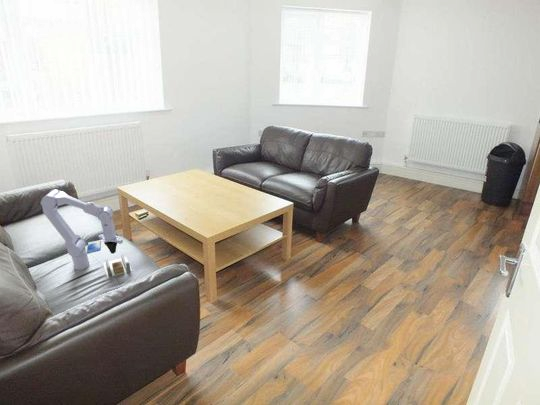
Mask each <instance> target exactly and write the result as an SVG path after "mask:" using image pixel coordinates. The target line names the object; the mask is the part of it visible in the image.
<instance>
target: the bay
mask: <svg viewBox="0 0 540 405" xmlns="http://www.w3.org/2000/svg"><path fill="white" fill-rule="evenodd" d="M119 261H121V262H122V265H123V268H124V272H123V273H119V274H116V275H115V273H114V270H113V266H112V263H115V262H119ZM102 264H103V267H104V268H103V269H104V271H105V274H106V277H107V279H108V278H111V277H114V276H119V275H122V274H125V273H128V272H132V271H133V270H132V268H131V264H130V262H129V260H128V258H127V256H124V255H120V258H116V259H113V260H108V258H107V259H105V261H104V262H103V263H102Z"/></svg>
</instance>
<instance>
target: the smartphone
mask: <svg viewBox="0 0 540 405" xmlns="http://www.w3.org/2000/svg"><path fill="white" fill-rule="evenodd" d="M101 243H102V239H97V240H92V241H88V242H87V249H86V252H87V255H89V254H93V253H98V252H100V251H102V250H101V249H102V244H101Z"/></svg>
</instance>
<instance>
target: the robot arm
mask: <svg viewBox="0 0 540 405" xmlns="http://www.w3.org/2000/svg"><path fill="white" fill-rule="evenodd" d="M39 204H40V205H41V206H42V207H41V208H42V213H43V214H44V215H45V217H46V219H47V220H48V221H49V222H50V223H51V225H52V226H53V227H54V228H55V229H56V231H57V232H58V233H59V234H60V236H61V237H62V238H63V240H64V242H65V248H66V249H67V254H68V255H69V256H71V259H72V263H73V264H72V265H73V267H74V269H75V270H78V271H80V270H85V269H86V268H88V267H90V260H89V257H88V254H87V249H86V246H87V241H86V239H84V238H82V237H81V236H80V235H78V234H76V233H75V232H74V231H73V229H72V228H71V226H69V224H68V223H67V221H66V220H65V219H64V218H63V216H62V215H61V214H60V213H59V211H58V207H59V206H63V205H69V206H70V207H71V206H72V207H75V208H78V209H81V210H83V212H84V213H85V214H88V215H91V216H93V217H96V218H97V219H98V220H99V221H100V224H101V228H102V234H99V235H98V240H103V241H102V242H103V243H104V244H103V245H105V247H107V249H108V250H109V252H110V254H111V255H112V254H115V253H116V252H117V246H118V244H119V245H121V244H123V243H124V240H123V238H120V237H119V236H118V235H117V234H116V227H115V224H114V219H113V214H114V210H113V209H112V208H111V207H109V206H104V205H102V206H101V205H100V204H99V205H98V204H96V203H95V202H94V201H91V202H90V201H88V202H84V201H82V200H80V199H77V198H75V197H73V196H71V195H69V194H67V193H66V192H65V191H62V190H59V189H54V188H53V189H52V190H50V191H49V193H47V194H46V195H45V196H43V197H42V198H41V201H40V202H39Z"/></svg>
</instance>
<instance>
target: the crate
mask: <svg viewBox="0 0 540 405" xmlns="http://www.w3.org/2000/svg"><path fill="white" fill-rule="evenodd" d="M112 266H113V270H114V273H115V276H117V275H116V274H119V273H122V274H124V273H123V272H124V268H123V265H122V262H121V261H119V262H115V263H112ZM119 275H120V274H119Z"/></svg>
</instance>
